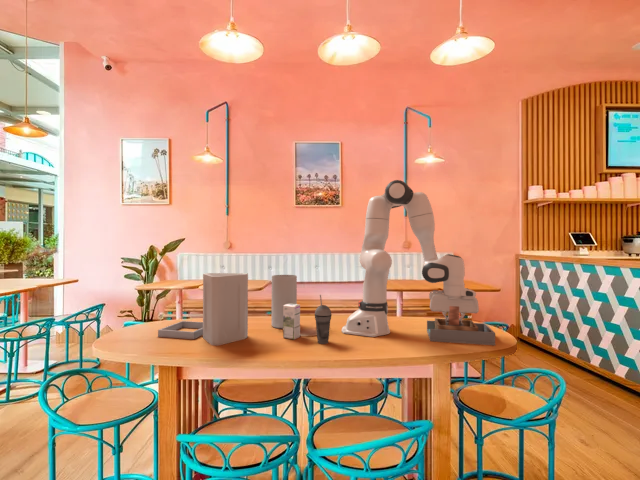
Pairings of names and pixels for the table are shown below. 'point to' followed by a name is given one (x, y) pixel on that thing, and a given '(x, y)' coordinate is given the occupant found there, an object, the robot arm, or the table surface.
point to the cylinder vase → (282, 296)
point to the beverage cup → (323, 323)
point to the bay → (462, 335)
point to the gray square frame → (171, 332)
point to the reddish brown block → (453, 315)
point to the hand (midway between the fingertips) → (453, 322)
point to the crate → (464, 326)
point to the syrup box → (291, 321)
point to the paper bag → (225, 307)
